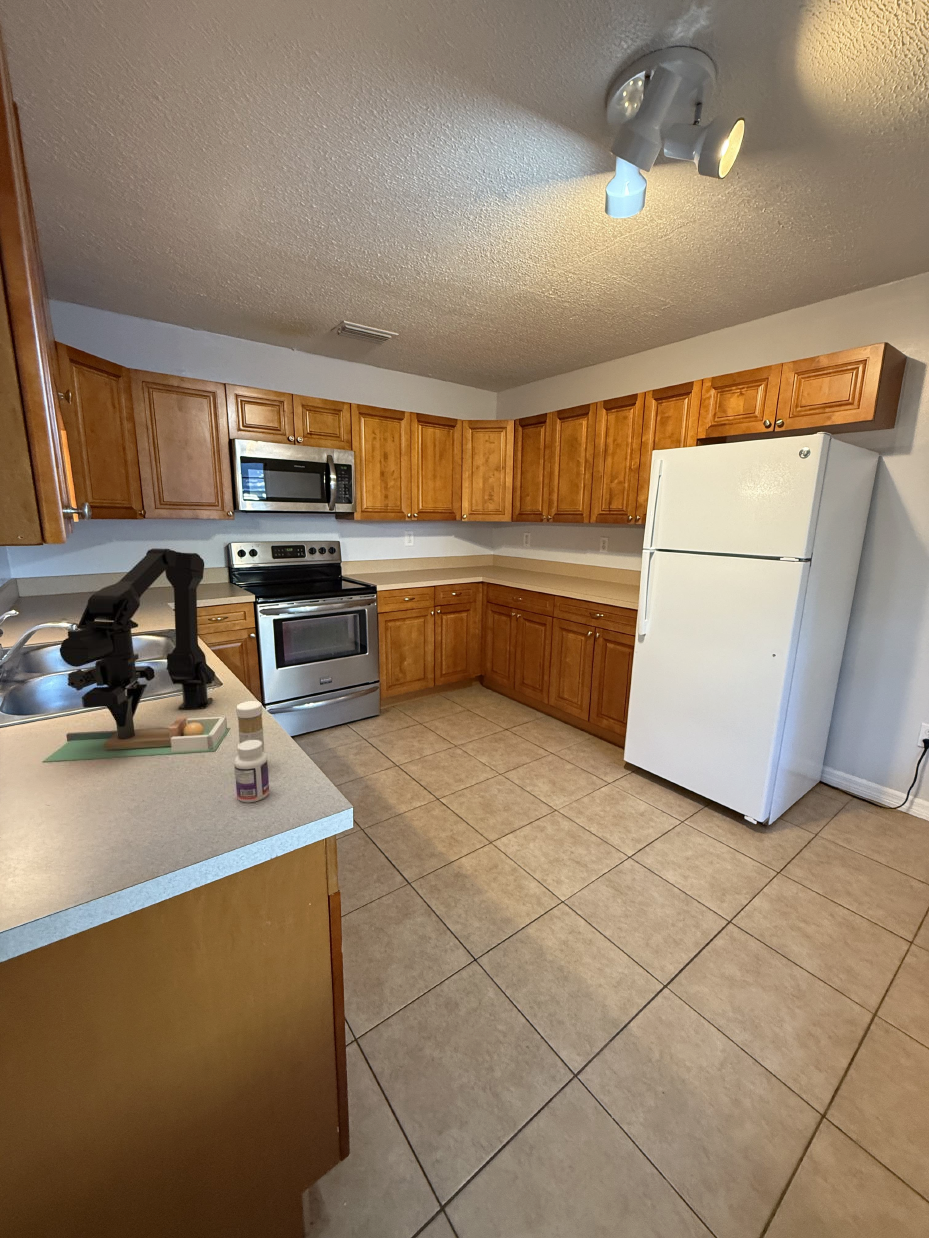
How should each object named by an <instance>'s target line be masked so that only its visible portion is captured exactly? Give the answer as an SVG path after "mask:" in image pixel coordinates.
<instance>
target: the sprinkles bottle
mask: <svg viewBox="0 0 929 1238" xmlns="http://www.w3.org/2000/svg"><path fill="white" fill-rule="evenodd" d="M236 717H237V721H238V738H239V739H238V740H239V744H240V743H242V742H245V741H248V740H259V741H261V742H262V748H263V749H262V752H264V753H265V740H264V739H265V738H264V727H263V705H262V703H261V702H260V701H258V700H256V701H255V700H250V701H249V700H248V701H244V702H241V703H238V704H237V706H236Z"/></svg>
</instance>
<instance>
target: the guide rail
mask: <svg viewBox="0 0 929 1238" xmlns="http://www.w3.org/2000/svg"><path fill="white" fill-rule="evenodd" d="M169 727H170V726H169ZM169 727H155V728H153V727H152V728H151V727H150V728H136V729H135V728H134V730H153V729H168V728H169ZM116 732H117V729H116V730H115V729H113V730H97V731H96V730H95V731H82V732H81V731H80V732H67V733H66V734H65V735H66V736H65V737H66V741H67V742H69V741H74V740H92V739H109V738H111V737H112V736H113V735H114V734H115V733H116Z"/></svg>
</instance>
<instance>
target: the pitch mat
mask: <svg viewBox="0 0 929 1238" xmlns="http://www.w3.org/2000/svg"><path fill="white" fill-rule="evenodd" d="M230 729H231V727H227V729H226V731H225V732H224V734H223V736H222V737H221V739H220V740H219V742H218V743H217V745H216V746H215V748H214V749H213V750H200V751H184V752H172V747H171V746H162V747H146V748H130V749H113V750H105V748H104V743H105V742H106V741H107V740H108V739H92V740H74V741H67V742H66V743H65V744H64V745H62V746H60V748H58V749H57V750H55V751H54V752H53V753H52V754H50V755H49V756H48V757H46V758H45V759H44V760H42V761H41V763H55V762H70V761H83V760H84V761H85V760H86V761H87V760H102V759H103V760H104V759H116V758H131V757H132V758H133V757H147V756H149V757H150V756H167V755H180V754H196V753H211V752H216V751H217V749H218V748H219V746H220V744H221V743H222V741H223V740H224V738H225V737H226V735H227V734H228V732H229V730H230ZM210 732H211V731H205V732H204V734H203V735H209V733H210Z"/></svg>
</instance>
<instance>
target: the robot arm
mask: <svg viewBox="0 0 929 1238" xmlns="http://www.w3.org/2000/svg"><path fill="white" fill-rule="evenodd" d="M204 570H205V561H204V559H203V558H202V557H201V555H200V554H199V553H196V552H180V551H176V550H172V549H170V548H156V547H155V548H151V549H149V550H147V552H146V555H145V556H144V557H143V558H141V559H140V561H139V562H137V563H136V564H135V566H133V567H132V568H131V569H130V570H129V571H128V572H127V573H126V574H125V575H124V576H123V577H122V578H121V579H120V580H119V581H117V582H116V583H113V584H111V585H108V586H105V587H102V588H100V589H99V590H97V591H96V592H94V593H93V594H91V596H89V598H88V600H87V604H86V606H85V609H84V611H83V613H82V615H81V618H80V620H79V623H78V624H77V629H71V630H68V631H67V637H66V638H65V639H64V640H62V642H61V644H60V648H59V654H60V655H59V656H60V657H61V659H62V660H63V661H64V662H65V663H66V665H68V666H71V667H75V668H78V667H82V666H84V665H88V664H90V663H93V662H95V663H94V664H95V665H94V666H91V667H89V668H86V669H83V670H82V669H80V668H79V669H76V670H73V671H70V672H69V673H68V674H67V686H68V687H70V688H72V689H75V690H76V691H77V692H79V691H81V690H83V689H84V688H86V687H87V688H88V687H90V686H93V685H96V686H95V687H94V688H92V689H90V690H88V691H87V692H86V693H84V695H83V696H81V705H82V708H84V709H85V708H100V707H105V708H107V709H108V711H109V713H110V714H111V715H112V717H113V719H114V720H115V724H116V723H117V724H118V726H119V727H124V726H125V725H126V722H127V718H128V714H129V710H130V706H132V715H133V718H134V717H135V713H136V711H137V709H138V706H139V704H140V702H141V700H142V696H143V695H144V692H145V690H146V688H147V687H148V685H147V684H144V683H143V684H142V683H141V682H140V681H138V680H139V679H145V681H147V682H149V681H152V680H153V679H155V677H156V676H155V669H154V668H152V666H150V665H138V666H137V665H136V661H137V660H139V653H135V651H134V644H133V636H132V635H133V633H132V629H136V628H138V627H139V623H137V622H135V621H134V620H132V618H133V617H134V615H135V614H136V612H137V611H138V609H139V608H140V606H141V603H140V601H141V600H140V599H141V597H142V596H143V594H144V593H145V592H146V591H147V590H148V589H149V588H150V587H151V586H152V585H153V584H154V583H155V582H156V581H157V580H158V579H159V578H160V577H161V575H162V574H163V573H165V578H166V580H167V581H168V582H169V584H170V585H171V586H172V588H173V606H174V609H173V610H174V632H175V633H174V634H175V635H174V636H175V638H174V640H175V647H173V650H172V651H171V653H170V652H169V653H167V655H166V657H165V658H166V670H167V673H168V676H169V677H170V680H171V682H172V684H173V685H181V692H182V693H181V694H182V703H181V704H180V705H179V706H178V710H191V709H195V710H196V709H206V708H207V707H208V706H209V705H210V703H211V702H212V701H213V697H209V696H208V686H207V685H210V684H213V681H215V677H216V672H215V670H213V668H211V667H210V666H209V665H208V664H207V657H206V654H205V652H204V651H203V650H202V648H201V647H200V645H199V637H198V636H199V635H198V631H199V628H198V627H199V626H198V599H197V597H198V596H197V593H198V592H197V589H198V587H199V585H200V584H201V582H202V580H204Z"/></svg>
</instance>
